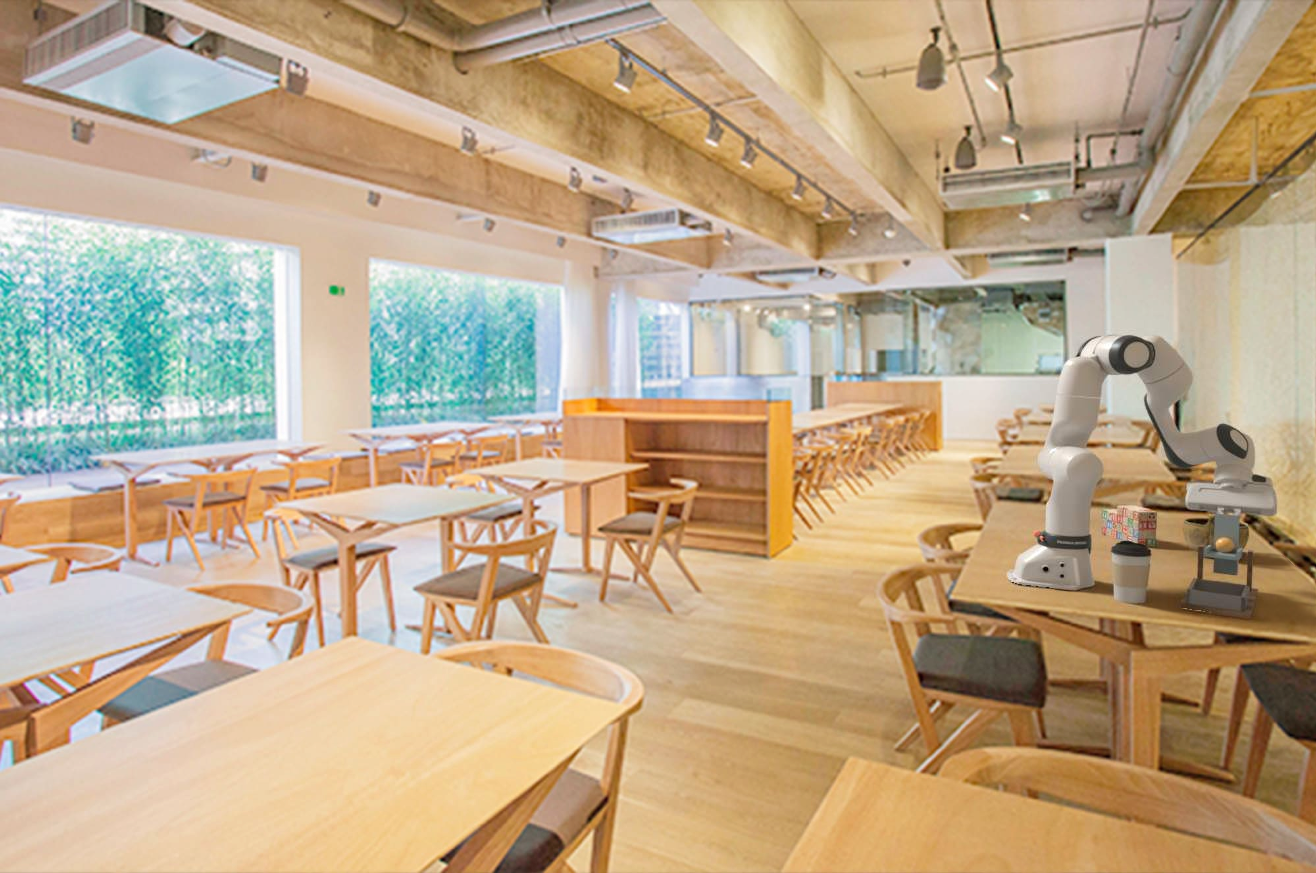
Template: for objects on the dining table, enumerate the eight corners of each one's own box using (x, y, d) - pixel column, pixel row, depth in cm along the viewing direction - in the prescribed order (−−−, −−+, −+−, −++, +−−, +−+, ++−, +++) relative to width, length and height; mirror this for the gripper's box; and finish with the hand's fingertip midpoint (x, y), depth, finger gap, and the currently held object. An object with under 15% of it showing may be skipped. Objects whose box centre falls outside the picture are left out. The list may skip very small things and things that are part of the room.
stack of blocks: (1100, 534, 278) (1101, 501, 277) (1118, 534, 278) (1119, 500, 277) (1137, 547, 257) (1138, 511, 256) (1156, 547, 257) (1157, 511, 256)
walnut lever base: (1193, 585, 211) (1194, 543, 210) (1257, 594, 202) (1259, 549, 201) (1180, 608, 191) (1181, 561, 190) (1250, 619, 182) (1252, 570, 181)
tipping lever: (1206, 569, 211) (1209, 511, 211) (1246, 574, 205) (1249, 515, 205) (1198, 576, 197) (1201, 515, 197) (1241, 582, 191) (1244, 518, 191)
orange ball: (1218, 551, 200) (1219, 536, 201) (1212, 551, 204) (1213, 536, 204) (1236, 553, 199) (1237, 538, 199) (1230, 554, 203) (1231, 539, 203)
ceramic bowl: (1246, 566, 230) (1248, 517, 228) (1178, 559, 240) (1180, 512, 239) (1248, 552, 247) (1250, 506, 246) (1185, 545, 257) (1186, 501, 256)
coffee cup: (1156, 605, 194) (1158, 547, 193) (1117, 604, 196) (1118, 546, 195) (1141, 595, 203) (1143, 539, 202) (1104, 594, 205) (1105, 539, 204)
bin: (1193, 591, 201) (1193, 578, 201) (1248, 598, 193) (1249, 585, 193) (1186, 603, 191) (1186, 589, 190) (1244, 612, 183) (1245, 597, 183)
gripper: (1186, 473, 218) (1180, 512, 211) (1279, 478, 204) (1275, 520, 198) (1188, 487, 222) (1182, 525, 215) (1278, 493, 208) (1275, 534, 202)
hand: (1227, 523), depth 206 cm, fingers closed
